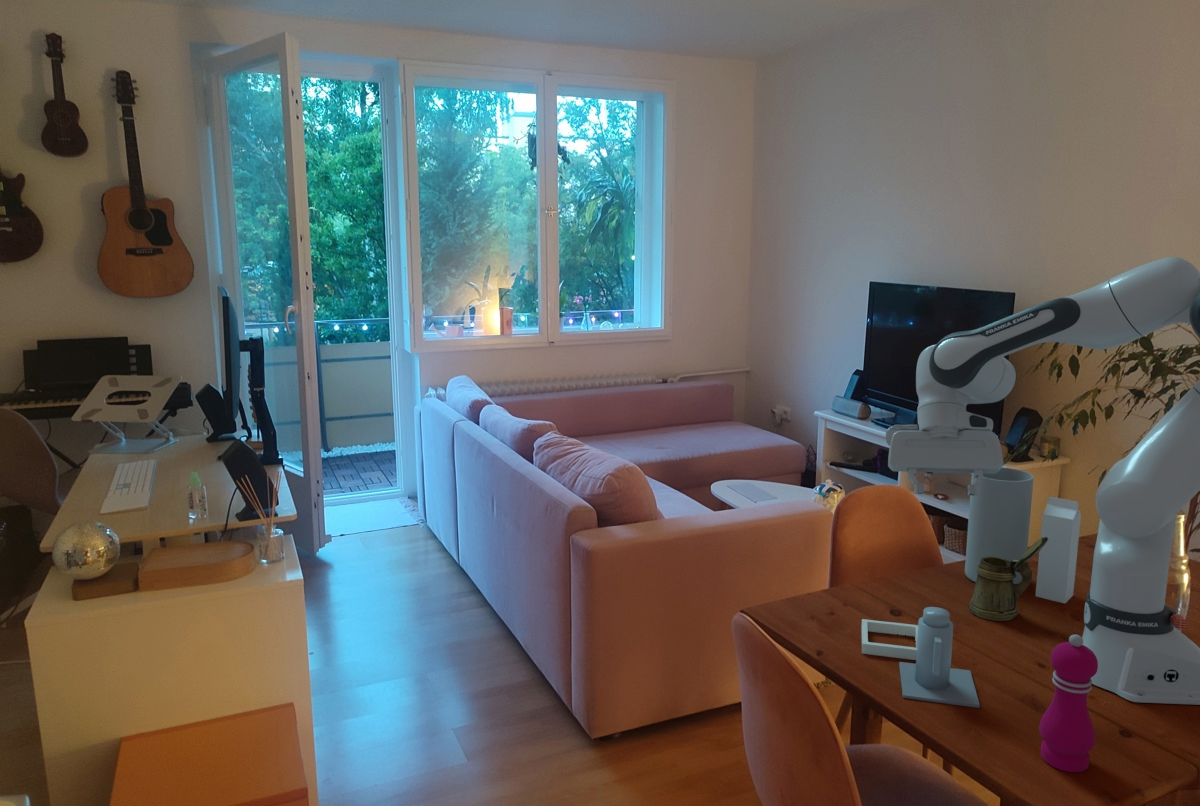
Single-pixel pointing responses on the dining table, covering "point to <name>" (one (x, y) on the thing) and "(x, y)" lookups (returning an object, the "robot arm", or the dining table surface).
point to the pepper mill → (1069, 708)
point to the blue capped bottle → (934, 649)
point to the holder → (886, 648)
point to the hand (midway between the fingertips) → (945, 494)
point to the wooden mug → (1001, 585)
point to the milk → (1058, 550)
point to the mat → (956, 693)
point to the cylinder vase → (999, 519)
